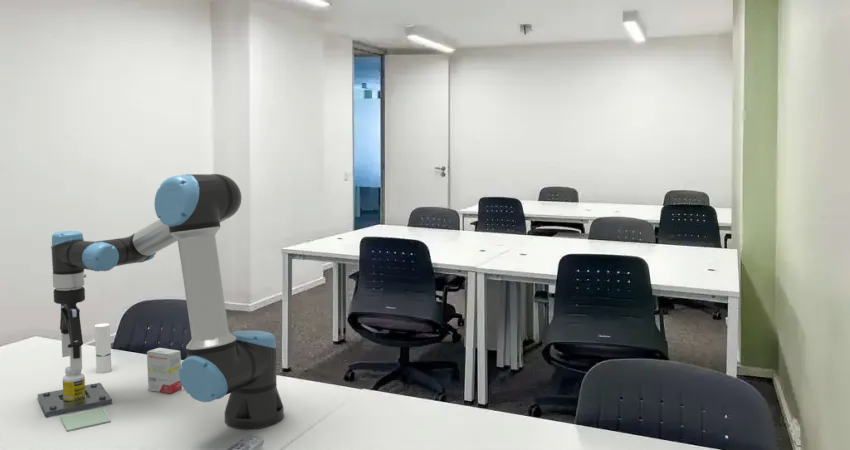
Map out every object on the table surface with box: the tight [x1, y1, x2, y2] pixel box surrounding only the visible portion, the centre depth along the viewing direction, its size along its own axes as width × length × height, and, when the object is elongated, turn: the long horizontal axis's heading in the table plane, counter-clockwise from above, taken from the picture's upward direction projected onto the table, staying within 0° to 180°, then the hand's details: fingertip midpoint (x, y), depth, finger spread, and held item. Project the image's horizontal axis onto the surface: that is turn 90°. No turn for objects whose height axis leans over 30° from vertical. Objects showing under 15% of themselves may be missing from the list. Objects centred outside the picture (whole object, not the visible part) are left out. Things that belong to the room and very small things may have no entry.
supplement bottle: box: [62, 366, 86, 403], centre depth 179 cm, size 5×5×10 cm
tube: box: [94, 322, 113, 374], centre depth 204 cm, size 4×4×15 cm
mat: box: [60, 408, 112, 432], centre depth 167 cm, size 10×10×1 cm
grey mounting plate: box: [37, 382, 113, 418], centre depth 179 cm, size 16×16×2 cm
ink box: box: [146, 347, 183, 394], centre depth 189 cm, size 9×5×12 cm, turn 70°
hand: (72, 362), depth 178 cm, fingers open, 13 cm apart
